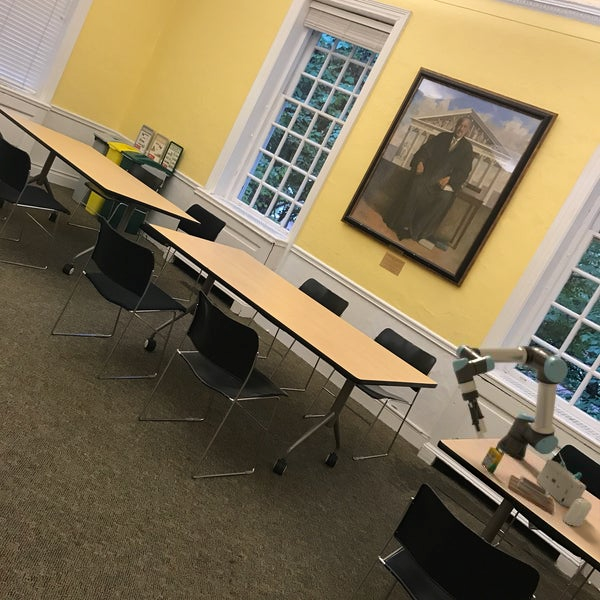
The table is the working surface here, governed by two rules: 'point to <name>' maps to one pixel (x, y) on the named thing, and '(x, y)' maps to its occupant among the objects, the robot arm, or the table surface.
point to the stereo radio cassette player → (560, 483)
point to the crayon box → (493, 459)
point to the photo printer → (577, 512)
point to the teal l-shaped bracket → (571, 473)
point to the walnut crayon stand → (531, 492)
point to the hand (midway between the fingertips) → (482, 435)
